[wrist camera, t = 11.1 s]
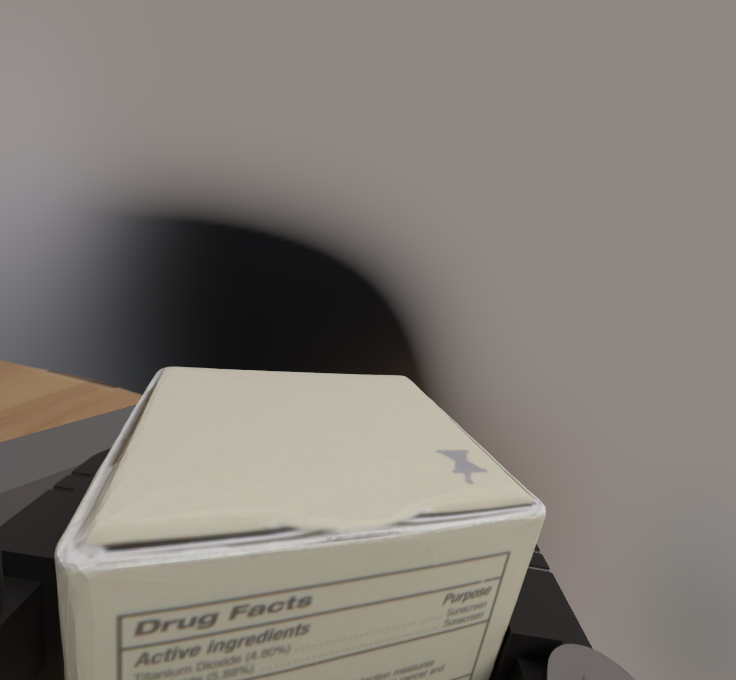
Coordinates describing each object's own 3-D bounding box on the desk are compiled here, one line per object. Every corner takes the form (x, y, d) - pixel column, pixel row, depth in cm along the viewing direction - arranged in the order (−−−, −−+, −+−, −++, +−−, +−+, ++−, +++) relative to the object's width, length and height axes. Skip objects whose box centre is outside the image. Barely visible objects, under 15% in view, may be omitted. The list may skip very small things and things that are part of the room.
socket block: (-298, 584, 14) (-317, 530, 14) (137, 435, 28) (138, 404, 27) (-253, 1086, 7) (-289, 1022, 6) (305, 553, 21) (311, 515, 20)
